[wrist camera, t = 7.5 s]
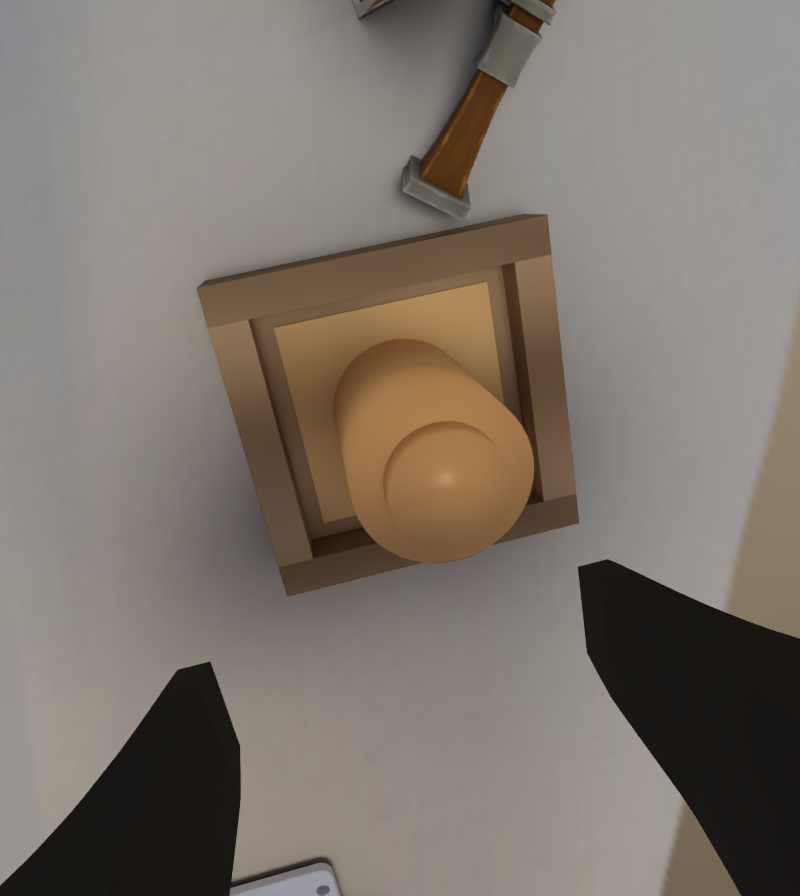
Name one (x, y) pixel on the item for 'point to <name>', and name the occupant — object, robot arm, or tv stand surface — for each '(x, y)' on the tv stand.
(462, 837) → the tv stand surface
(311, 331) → the tray
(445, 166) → the wooden post with brackets
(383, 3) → the food container
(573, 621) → the tv stand surface
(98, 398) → the tv stand surface
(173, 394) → the tv stand surface
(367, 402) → the wooden dowel peg
